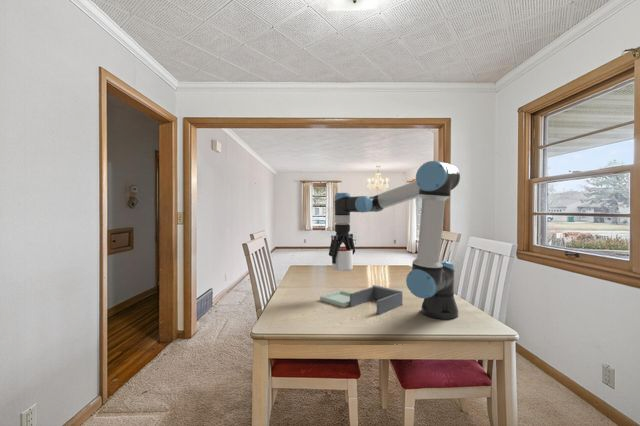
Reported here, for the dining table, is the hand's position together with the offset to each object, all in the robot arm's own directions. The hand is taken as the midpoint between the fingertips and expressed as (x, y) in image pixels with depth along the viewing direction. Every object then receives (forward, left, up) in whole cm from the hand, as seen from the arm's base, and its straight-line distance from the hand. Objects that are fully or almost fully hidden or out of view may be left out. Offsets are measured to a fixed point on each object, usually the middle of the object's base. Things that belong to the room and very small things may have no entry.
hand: (342, 268), depth 160 cm
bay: (-17, -5, -16) cm, 24 cm away
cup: (0, 0, -1) cm, 1 cm away
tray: (0, 0, -16) cm, 16 cm away
